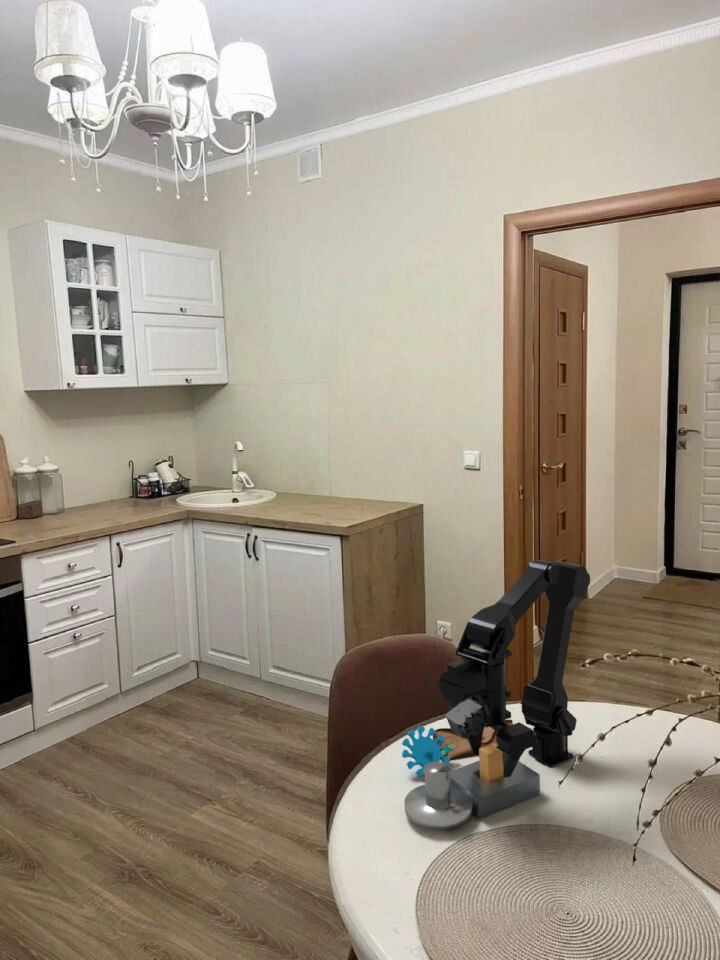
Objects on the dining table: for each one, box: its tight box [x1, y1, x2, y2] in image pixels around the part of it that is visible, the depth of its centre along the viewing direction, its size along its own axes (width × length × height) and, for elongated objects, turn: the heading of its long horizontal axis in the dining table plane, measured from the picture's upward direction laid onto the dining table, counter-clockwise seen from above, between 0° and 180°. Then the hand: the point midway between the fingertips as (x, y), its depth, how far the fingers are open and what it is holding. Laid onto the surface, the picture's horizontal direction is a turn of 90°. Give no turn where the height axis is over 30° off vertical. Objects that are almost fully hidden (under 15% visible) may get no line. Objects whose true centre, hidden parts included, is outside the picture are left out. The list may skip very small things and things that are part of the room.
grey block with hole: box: [403, 760, 541, 830], centre depth 134 cm, size 25×12×9 cm, turn 119°
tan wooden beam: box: [478, 743, 504, 784], centre depth 137 cm, size 4×2×9 cm
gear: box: [401, 725, 454, 778], centre depth 148 cm, size 11×6×10 cm
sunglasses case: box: [432, 718, 514, 761], centre depth 155 cm, size 18×7×7 cm, turn 101°
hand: (491, 765), depth 137 cm, fingers open, 9 cm apart
